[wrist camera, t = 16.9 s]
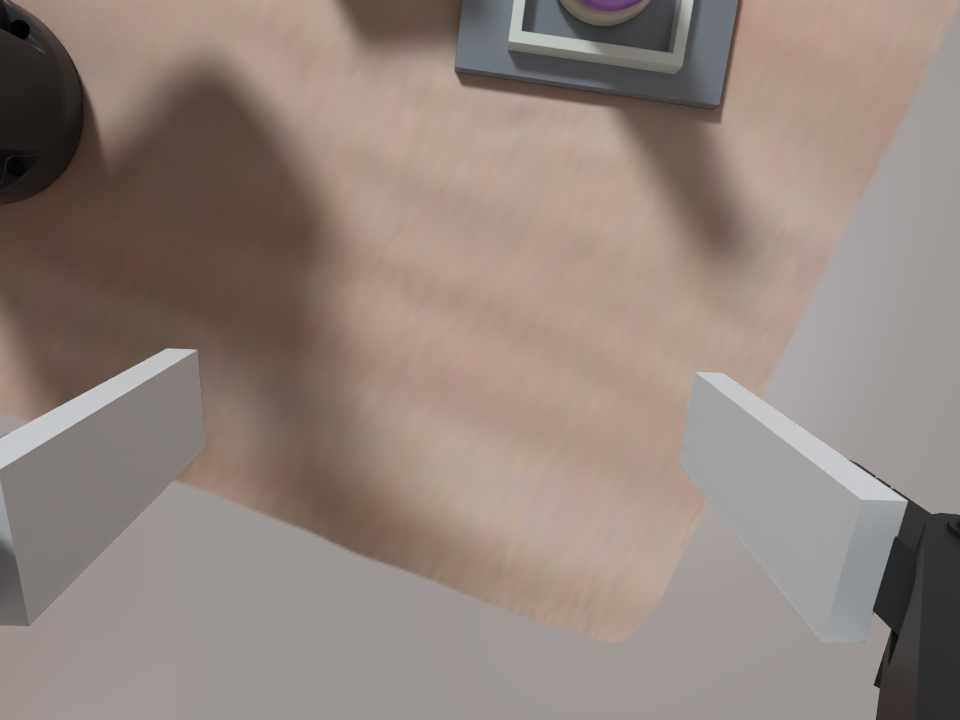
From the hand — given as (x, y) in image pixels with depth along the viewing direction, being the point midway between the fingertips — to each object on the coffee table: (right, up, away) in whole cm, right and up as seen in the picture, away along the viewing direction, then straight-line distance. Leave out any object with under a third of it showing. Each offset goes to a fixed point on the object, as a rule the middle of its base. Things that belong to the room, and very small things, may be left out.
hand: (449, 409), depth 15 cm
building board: (+10, +30, +27) cm, 41 cm away
